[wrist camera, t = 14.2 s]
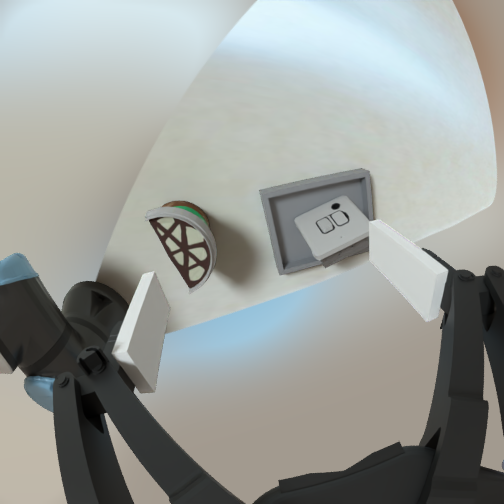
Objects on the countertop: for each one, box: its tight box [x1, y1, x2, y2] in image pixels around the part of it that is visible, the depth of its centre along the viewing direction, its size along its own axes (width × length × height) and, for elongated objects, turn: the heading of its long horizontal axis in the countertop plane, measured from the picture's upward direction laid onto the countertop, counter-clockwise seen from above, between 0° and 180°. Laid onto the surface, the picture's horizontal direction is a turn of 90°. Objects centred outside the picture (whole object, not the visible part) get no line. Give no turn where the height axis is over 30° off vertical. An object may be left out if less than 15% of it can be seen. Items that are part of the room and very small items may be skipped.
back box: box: [259, 168, 373, 275], centre depth 43 cm, size 17×14×2 cm
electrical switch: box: [294, 195, 369, 268], centre depth 39 cm, size 9×5×9 cm, turn 116°
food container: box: [145, 201, 217, 294], centre depth 38 cm, size 12×6×10 cm, turn 23°
